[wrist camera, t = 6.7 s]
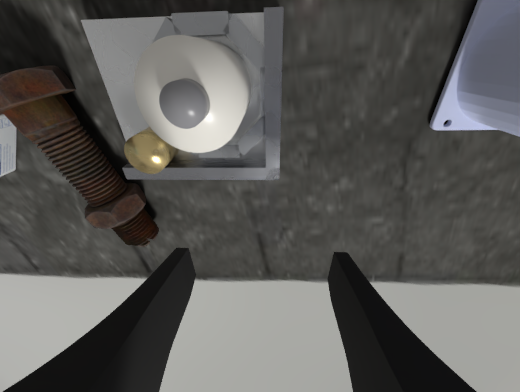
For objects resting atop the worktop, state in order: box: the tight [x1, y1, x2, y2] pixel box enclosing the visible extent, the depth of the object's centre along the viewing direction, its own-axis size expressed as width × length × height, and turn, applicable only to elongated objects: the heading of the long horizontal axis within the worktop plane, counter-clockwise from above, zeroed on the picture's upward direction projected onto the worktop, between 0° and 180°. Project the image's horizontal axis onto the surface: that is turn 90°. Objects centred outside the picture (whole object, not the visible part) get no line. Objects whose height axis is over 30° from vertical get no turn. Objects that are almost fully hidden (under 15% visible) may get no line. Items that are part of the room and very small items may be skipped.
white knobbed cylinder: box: [134, 35, 252, 153], centre depth 12 cm, size 5×5×6 cm
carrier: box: [81, 7, 283, 180], centre depth 15 cm, size 12×10×4 cm
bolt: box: [0, 65, 159, 247], centre depth 18 cm, size 6×5×15 cm
